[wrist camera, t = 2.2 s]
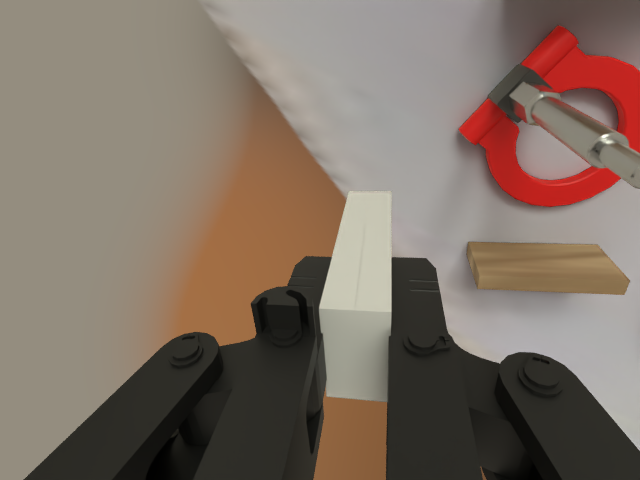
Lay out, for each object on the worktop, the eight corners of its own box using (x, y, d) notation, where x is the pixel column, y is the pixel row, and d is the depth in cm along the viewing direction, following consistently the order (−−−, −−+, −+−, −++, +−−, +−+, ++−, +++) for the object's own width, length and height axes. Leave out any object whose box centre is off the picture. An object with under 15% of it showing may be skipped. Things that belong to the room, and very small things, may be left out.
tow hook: (678, 120, 21) (568, 5, 19) (1001, 247, 10) (824, 9, 8) (545, 222, 25) (443, 137, 23) (673, 389, 14) (501, 257, 12)
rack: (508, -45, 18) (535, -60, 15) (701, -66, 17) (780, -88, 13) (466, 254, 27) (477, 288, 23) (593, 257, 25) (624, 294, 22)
